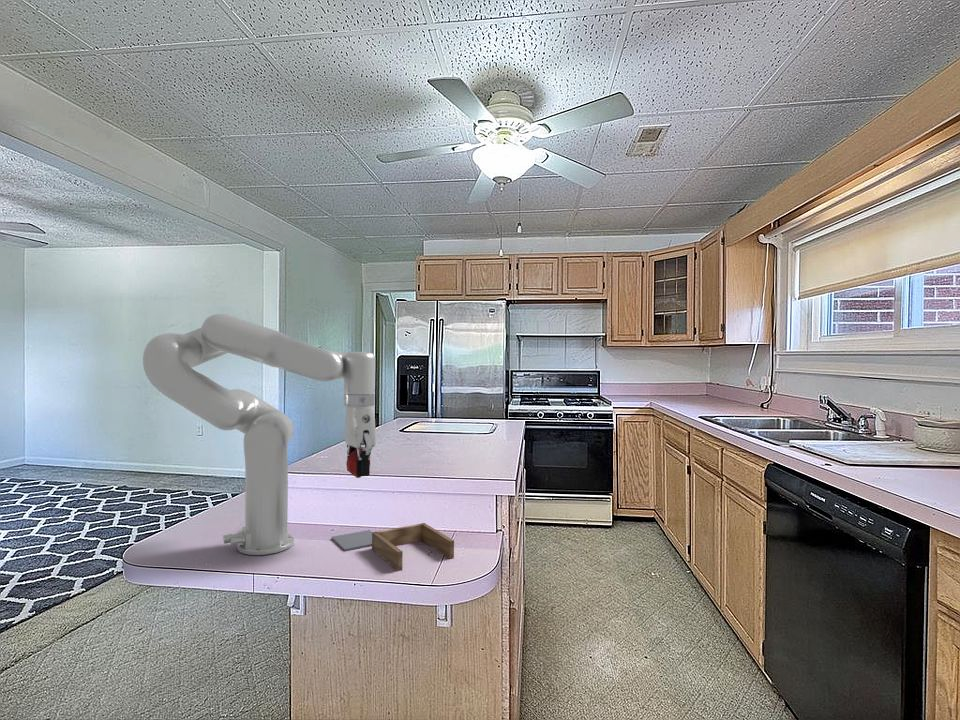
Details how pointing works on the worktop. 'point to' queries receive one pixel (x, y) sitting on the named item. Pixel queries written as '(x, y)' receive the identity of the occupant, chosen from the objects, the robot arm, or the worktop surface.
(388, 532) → the tan u-shaped frame
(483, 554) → the worktop surface
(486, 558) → the worktop surface
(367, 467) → the robot arm
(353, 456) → the onion
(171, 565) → the worktop surface
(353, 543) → the mat
